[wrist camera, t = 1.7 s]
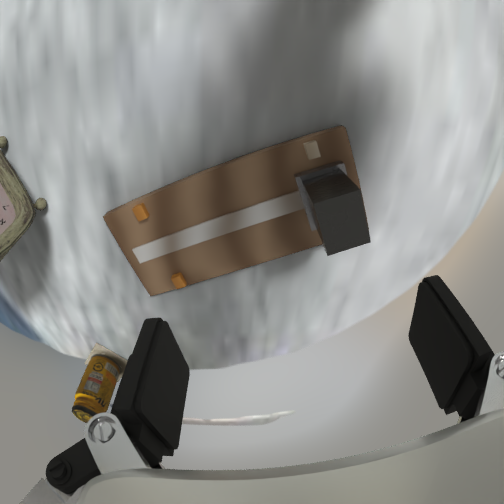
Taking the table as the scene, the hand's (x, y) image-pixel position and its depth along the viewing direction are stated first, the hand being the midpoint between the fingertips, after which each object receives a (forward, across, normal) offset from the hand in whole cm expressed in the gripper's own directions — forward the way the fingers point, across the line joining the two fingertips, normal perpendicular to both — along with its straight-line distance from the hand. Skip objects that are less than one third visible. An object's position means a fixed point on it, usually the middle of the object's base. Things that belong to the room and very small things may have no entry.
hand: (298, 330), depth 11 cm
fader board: (+24, +4, +5) cm, 25 cm away
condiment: (+24, +33, +29) cm, 50 cm away
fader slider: (+22, -5, +3) cm, 23 cm away
